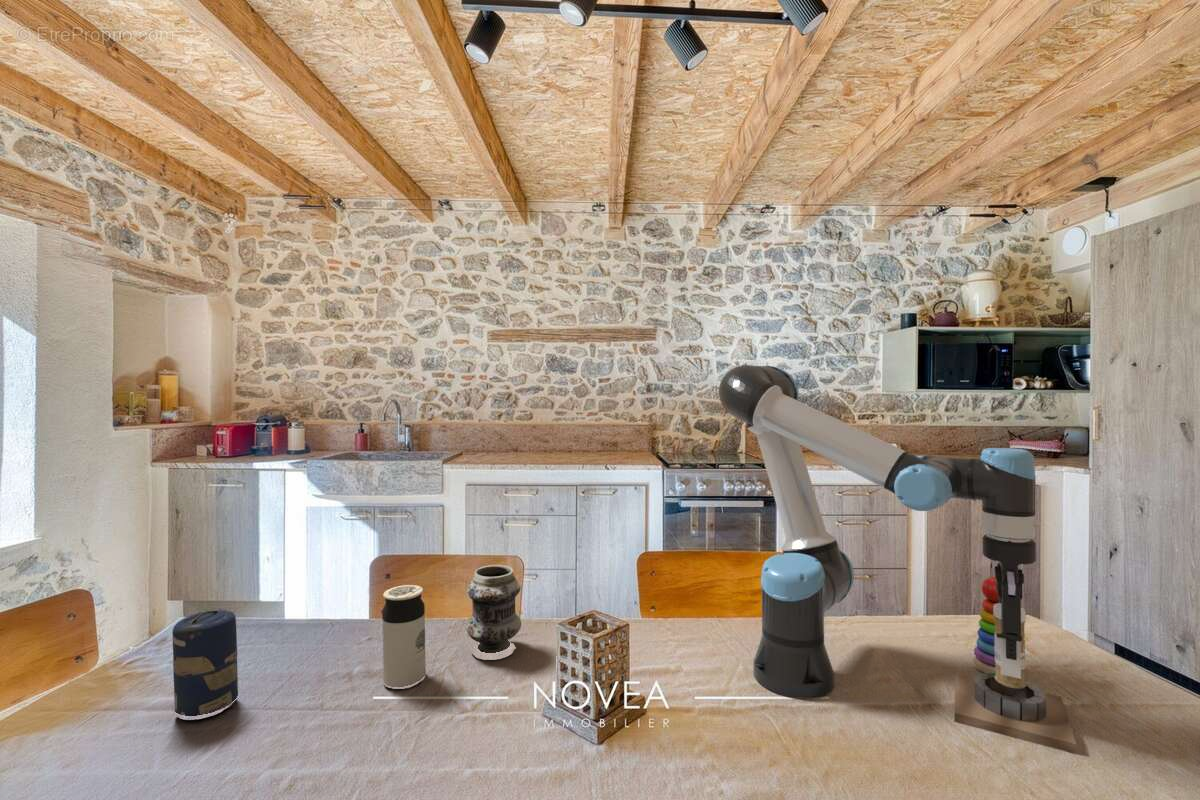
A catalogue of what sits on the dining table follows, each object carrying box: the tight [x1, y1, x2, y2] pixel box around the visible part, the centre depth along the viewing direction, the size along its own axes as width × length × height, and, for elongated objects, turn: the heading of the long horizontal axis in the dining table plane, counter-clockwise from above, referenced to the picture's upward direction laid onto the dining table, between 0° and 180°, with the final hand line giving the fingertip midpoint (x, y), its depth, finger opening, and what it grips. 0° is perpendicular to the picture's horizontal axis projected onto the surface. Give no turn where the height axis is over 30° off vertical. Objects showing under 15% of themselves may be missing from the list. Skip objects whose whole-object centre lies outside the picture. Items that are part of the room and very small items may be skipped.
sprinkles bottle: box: [993, 603, 1027, 689], centre depth 97 cm, size 5×5×14 cm
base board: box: [954, 672, 1078, 755], centre depth 97 cm, size 16×16×2 cm
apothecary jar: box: [465, 564, 522, 653], centre depth 122 cm, size 12×12×18 cm
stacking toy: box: [972, 576, 999, 674], centre depth 111 cm, size 8×8×19 cm
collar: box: [973, 672, 1046, 722], centre depth 97 cm, size 10×10×3 cm
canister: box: [172, 609, 239, 716], centre depth 100 cm, size 10×10×18 cm
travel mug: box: [381, 584, 427, 687], centre depth 110 cm, size 8×8×18 cm
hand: (1009, 669), depth 97 cm, fingers closed on sprinkles bottle, 4 cm apart
